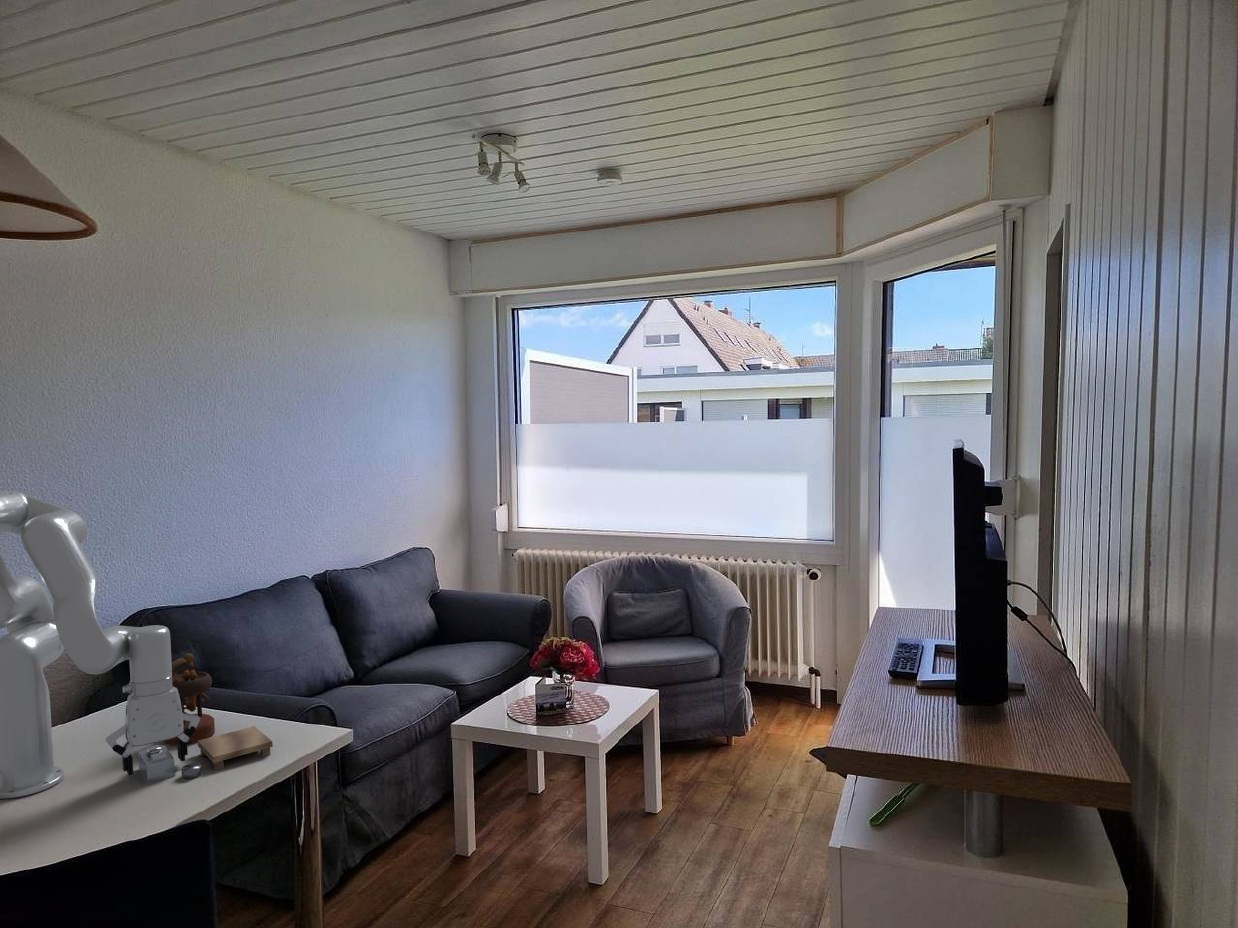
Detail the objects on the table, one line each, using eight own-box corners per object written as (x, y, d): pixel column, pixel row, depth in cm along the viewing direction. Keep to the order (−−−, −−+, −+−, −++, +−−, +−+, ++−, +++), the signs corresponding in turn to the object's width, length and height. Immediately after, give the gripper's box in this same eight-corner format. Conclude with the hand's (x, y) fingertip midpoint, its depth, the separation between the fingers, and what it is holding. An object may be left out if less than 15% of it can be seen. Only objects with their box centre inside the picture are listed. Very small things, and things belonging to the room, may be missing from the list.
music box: (191, 749, 180) (179, 661, 179) (148, 750, 182) (137, 663, 182) (235, 723, 195) (225, 642, 194) (195, 724, 197) (185, 644, 196)
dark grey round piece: (184, 781, 164) (183, 772, 164) (179, 776, 167) (179, 766, 167) (203, 776, 167) (203, 766, 167) (198, 770, 169) (198, 761, 169)
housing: (147, 784, 164) (146, 760, 164) (138, 769, 171) (137, 746, 170) (174, 776, 167) (173, 753, 167) (165, 763, 174) (164, 740, 174)
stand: (213, 771, 169) (213, 757, 169) (198, 753, 178) (197, 740, 178) (272, 754, 177) (272, 741, 177) (254, 738, 186) (254, 726, 186)
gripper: (107, 700, 159) (111, 785, 160) (202, 680, 171) (206, 759, 172) (100, 691, 165) (104, 773, 166) (192, 672, 176) (196, 748, 177)
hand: (156, 766), depth 169 cm, fingers open, 9 cm apart
